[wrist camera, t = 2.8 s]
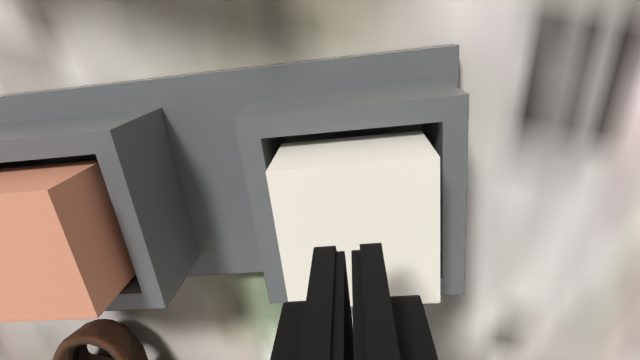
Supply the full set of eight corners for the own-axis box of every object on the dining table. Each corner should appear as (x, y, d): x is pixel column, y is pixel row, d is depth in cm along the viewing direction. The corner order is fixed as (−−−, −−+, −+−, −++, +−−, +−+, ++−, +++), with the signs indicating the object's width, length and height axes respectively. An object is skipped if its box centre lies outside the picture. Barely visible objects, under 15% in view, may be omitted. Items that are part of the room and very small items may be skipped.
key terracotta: (103, 159, 15) (47, 190, 12) (139, 269, 17) (97, 318, 14) (-14, 170, 15) (-94, 202, 13) (33, 275, 17) (-28, 323, 14)
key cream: (421, 130, 14) (440, 157, 11) (423, 252, 15) (440, 302, 13) (282, 143, 14) (265, 171, 11) (299, 260, 16) (289, 309, 13)
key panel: (452, 44, 16) (494, 51, 12) (450, 250, 20) (481, 318, 15) (-1, 95, 18) (-119, 118, 14) (71, 272, 22) (-3, 338, 17)
